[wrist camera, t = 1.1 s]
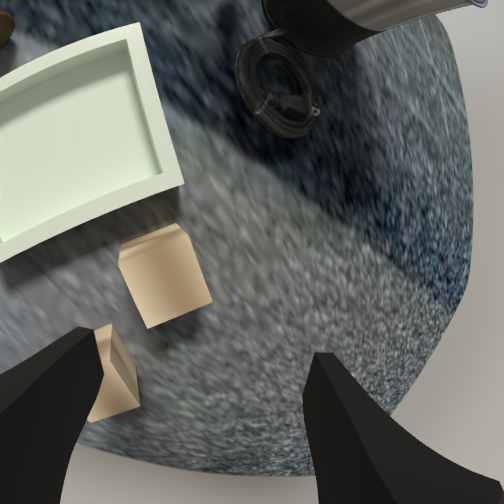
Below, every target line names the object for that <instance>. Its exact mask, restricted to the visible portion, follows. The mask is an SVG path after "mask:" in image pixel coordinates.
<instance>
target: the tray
mask: <svg viewBox="0 0 504 504" xmlns="http://www.w3.org/2000/svg"><path fill="white" fill-rule="evenodd" d="M181 184H184V180H183V177H182V174H181V171H180V167H179V164H178V161H177V158H176V154H175V151H174V148H173V144H172V141H171V138H170V134H169V131H168V127H167V124H166V120H165V117H164V113H163V110H162V106H161V103H160V99H159V96H158V92H157V88H156V85H155V81H154V77H153V74H152V70H151V66H150V62H149V58H148V55H147V51H146V47H145V43H144V39H143V35H142V31H141V27H140V22H138V23H135V24H131V25H127V26H123V27H120V28H116V29H113V30H110V31H106V32H103V33H100V34H97V35H94V36H91V37H88V38H86V39H83V40H80V41H77V42H75V43H72V44H70V45H67V46H65V47H62V48H60V49H57V50H55V51H53V52H50V53H48V54H46V55H44V56H41V57H39V58H37V59H35V60H33V61H31V62H29V63H27V64H25V65H23V66H21V67H19V68H17V69H15V70H13V71H11V72H10V73H8V74H6V75H4V76H2V77H1V78H0V263H1V262H3V261H5V260H6V259H8V258H10V257H12V256H14V255H16V254H18V253H20V252H22V251H24V250H26V249H28V248H30V247H32V246H34V245H36V244H38V243H40V242H42V241H45V240H47V239H49V238H51V237H53V236H55V235H57V234H60V233H62V232H64V231H66V230H68V229H71V228H73V227H75V226H77V225H80V224H82V223H84V222H86V221H89V220H91V219H93V218H96V217H98V216H101V215H103V214H105V213H108V212H110V211H113V210H115V209H118V208H120V207H123V206H125V205H128V204H130V203H133V202H135V201H138V200H140V199H143V198H146V197H148V196H151V195H154V194H156V193H159V192H162V191H165V190H167V189H170V188H173V187H176V186H179V185H181Z"/></svg>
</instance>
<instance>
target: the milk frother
mask: <svg viewBox="0 0 504 504" xmlns="http://www.w3.org/2000/svg"><path fill="white" fill-rule="evenodd" d="M487 4H488V0H263V5H264V9H265V12H266V14H267V16H268V19H269V20H270V22H271V23H272V25H273V26H274V28H275V29H276V30H274V31H271V32H268V33H264V34H262V35H260V36H258V37H256V38H253V39H252V40H250V41H248V42H247V43H245V44H244V45H243V46H242V47H241V48H240V49H239V51H238V53H237V56H236V58H235V66H234V72H235V79H236V82H237V86H238V89H239V91H240V94H241V96H242V98H243V99H244V101H245V103H246V104H247V106H248V107H249V109H250V110H251V112H252V113H253V114H254V116H255V117H256V118H257V119H258V120H259V121H260V122H261V123H262V124H263V125H264V126H265V127H266V128H267V129H268V130H270V131H271V132H273V133H274V134H276V135H279V136H280V137H284V138H296V137H300V136H303V135H305V134H307V133H308V132H309V131H310V130H311V128H312V127H313V125H314V123H315V121H316V117H317V115H319V114H320V110H319V109H317V108H318V95H317V90H316V86H315V83H314V80H313V78H312V76H311V74H310V73H309V71H308V70H307V68H306V67H305V65H304V64H303V63H302V61H301V60H300V59H299V58H298V57H297V56H296V55H295V54H294V53H293V52H292V51H291V50H290V49H288V48H287V47H285V46H284V45H282V44H280V43H278V42H275V41H272V40H270V39H271V38H275V37H280V36H283V37H284V38H285V39H286V40H287V41H289V42H290V43H291V44H293V45H295V46H296V47H298V48H299V49H302V50H304V51H306V52H309V53H311V54H315V55H319V56H335V55H338V54H341V53H343V52H345V51H346V50H347V49H348V48H349V47H350V46H351V45H353V44H355V43H357V42H360V41H362V40H364V39H366V38H368V37H371V36H373V35H376V34H378V33H381V32H383V31H386V30H388V29H391V28H394V27H397V26H400V25H403V24H406V23H409V22H412V21H415V20H418V19H421V18H424V17H427V16H431V15H434V14H438V13H441V12H445V11H449V10H452V9H456V8H460V7H464V6H468V5H475V6H478V7H480V8H483V7H486V6H487ZM263 55H271V56H274V57H276V58H278V59H280V60H281V61H282V62H284V63H285V64H286V65H287V66H288V67H289V68H290V69H291V71H292V72H293V73H294V75H295V76H296V78H297V79H298V81H299V83H300V85H301V88H302V91H303V94H301V95H286V94H284V93H282V92H279V93H276V94H273V93H272V92H271V91H266V92H264V91H263V90H262V88H261V86H260V84H259V82H258V78H257V75H256V74H257V73H256V68H257V63H258V61H259V60H260V58H261V57H262V56H263Z"/></svg>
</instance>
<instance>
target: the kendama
mask: <svg viewBox="0 0 504 504" xmlns="http://www.w3.org/2000/svg"><path fill="white" fill-rule="evenodd" d="M14 27H15V26H14V21H13V17H12V16H10V15H9V14H8V13H6V12H0V48H1V47H2V46H3V45H4V44H5V43H6V41H7V40H8V39H9V38H10V36H11V35H12V32H13V30H14Z"/></svg>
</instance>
